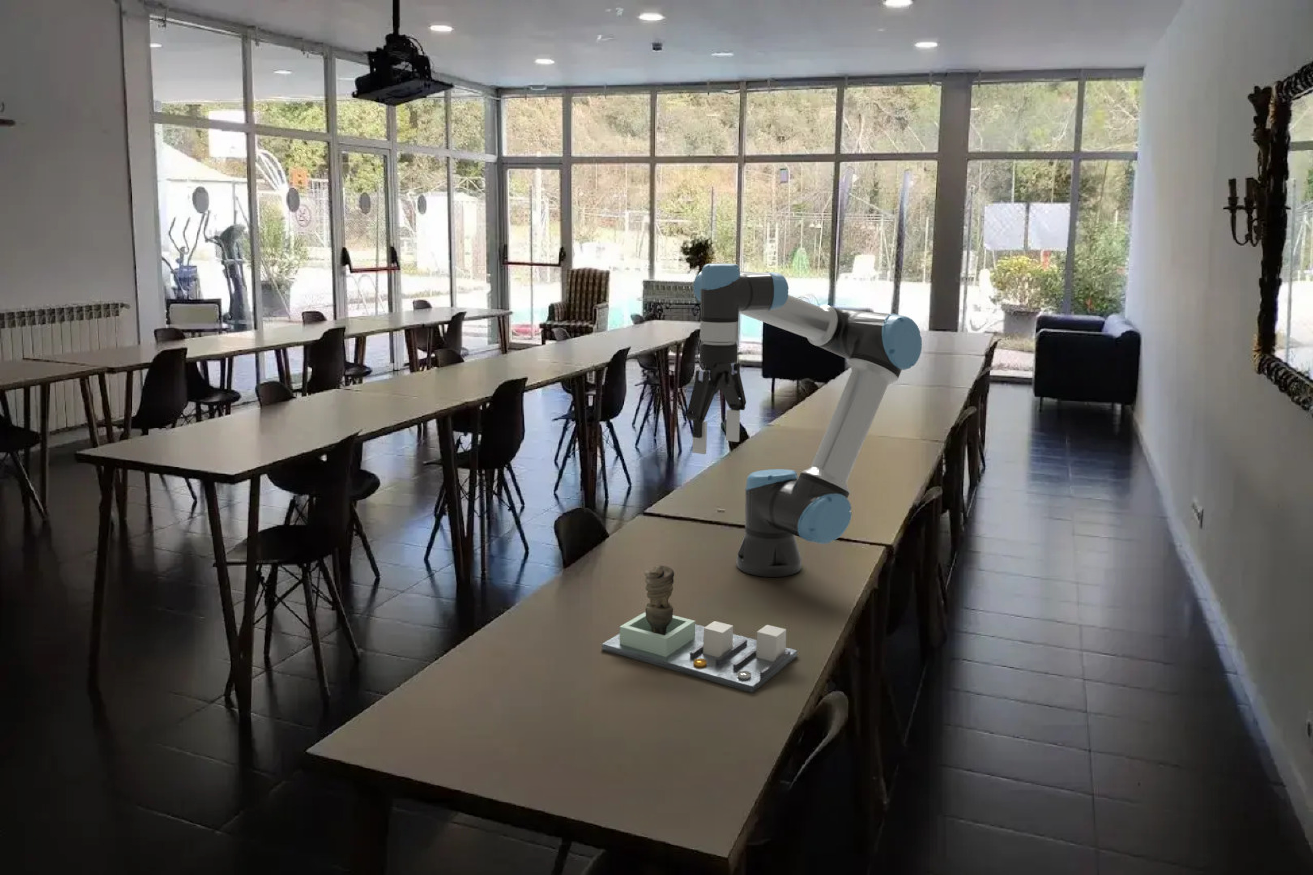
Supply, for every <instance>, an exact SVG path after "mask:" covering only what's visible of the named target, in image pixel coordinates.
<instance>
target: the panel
mask: <svg viewBox="0 0 1313 875" xmlns="http://www.w3.org/2000/svg"><path fill="white" fill-rule="evenodd" d="M704 627H705V626H704V625H700V624H696V623H695V638H694V639H693V640H691V641H690V642H688V643H687V644H685V645H684V646H682V647H680V648H679V649H677V650H676V651H674V652H673V653H671V654H670V655H668V656H667V657H665V656H661V655H657V654H654V653H650V652H647V651H643V650H640V649H636V648H632V647H629V646H625V645H622V644H620V633H618V634H616V635H615V636H613V637H612V638H610V639H608V640H605V641H603V643H602V644H601V650H603V651H606V652H609V653H611V654H612V653H613V654H616V655H619V656H622V657H626V658H630V659H634V660H637V661H641V662H643V663H648V664H651V665H655V666H657V667H661V668H664V669H668V670H672V671H675V672H678V673H682V674H686V675H688V676H692V677H696V678H699V679H702V680H706V681H710V682H714V683H718V684H721V685H724V686H727V687H731V688H734V689H738V690H741V691H745V692H748V693H752V694H753V693H754V692H755V691H757V689H759V688H760V687H761V686H762V685H764V684H765V683H766V682H767V681H768V680H770V679H772V678H773V677H774V676H775V675H777V674H778V672H780V671H781V670H782V669H784V668H785V667H786V666H787V665H788V664H790V663H791V662H792V661H793V660H794V659H796V658H797V657H798V650H797V649H793V648H789V647H786V652H785V653H783V654H782V655H781V656H780V657H778V658H777V659H776V660H775V661H769V660H765V659H761V658H757V657H756V647H757V639H754V638H749V637H746V636H742V635H740V634H735V633H733V648H731V649H730V650H728V651H727V652H726V653H724V654H723V655H721V656H720V657H715V656H712V655H708V654H704V653H703V638H704ZM649 632H652V630H650V631H649ZM666 634H667V633H666Z"/></svg>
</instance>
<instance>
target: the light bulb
mask: <svg viewBox="0 0 1313 875" xmlns="http://www.w3.org/2000/svg"><path fill="white" fill-rule="evenodd" d="M644 576H645V578H644V582H645V584H646V585H645V590H646V591H647V593H646V597H647V598H648V599H649V602H648V603H646V605H645V612H646V620H647V621H648V623H649V624H650V626H651V630H652V632H653V633H657V634H661V635H666V629H667V626H668V625H669V624H670V622H671V621H672V618H673V615H674V606H673V604H672V603H670V602H669V599H670V597H672V595H673V594H672V593H673V590H674V583H675V581H674V580H675V578H674V577H675V571H674V569H672V567H670V566H667V565H659V564H658V565H656V566H654V567H653V569H647V570H645V572H644Z"/></svg>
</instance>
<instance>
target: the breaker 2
mask: <svg viewBox="0 0 1313 875" xmlns="http://www.w3.org/2000/svg"><path fill="white" fill-rule="evenodd" d="M756 640H757V647H756V657H757V658H761V659H765V660H769V661H775V660H776V659H777V658H778V657H780V656H781V655H782V654H783V653H785V652H786V648H787V646H786V645H787V628H783V627H779V626H778V627H777V626H773V625H770V624H766V625H764V626H763V627H762V628H760V629H759V630H757V631H756Z"/></svg>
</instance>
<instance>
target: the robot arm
mask: <svg viewBox="0 0 1313 875" xmlns="http://www.w3.org/2000/svg"><path fill="white" fill-rule="evenodd" d="M740 270H741V269H740V266H739V265H738V264H737V263H714V262H713V263H706V264H704V265H703V267H702V270H701V271H700V272H699V273H697V275H696V277H695V279H694V281H693V284H692V285H693V286H692V288H693V289H692V290H693V294H694V296H695V298H696V300H698V301H699V302H700V325H699V330H700V333H699V334H700V336H699V339H700V341H702V342H701V343H700V344H699V361H700V363H704V364H705V366H704V369H697V370H695V379H694V385H693V388H692V390H691V396H690V399H689V404H688V407H687V410H686V414H685V415H686V416H685V417H686V420H688V421H692V453H694V454H699V455H706V454H707V446H708V445H707V442H708V441H707V440H708V439H707V437H708V436H707V435H708V421H707V420H706V417H707V415H708V412H709V409H710V407H711V404H712V402H713V399H714V397H715V395H716V394H718V393H719V391H721V392H722V395H723V397H724V399H725V401H726V405H727V406H728V408H729V409H726V422H725V423H726V424H725V426H726V427H725V428H726V429H725V430H726V431H725V441H726V442H727V441H729V442H734V443H738V442H740V427H741V426H740V425H741V424H740V423H741V422H740V421H741V420H740V419H741V411H745V409H746V404H747V399H746V395H745V390H744V387H743V386H744V384H743V382H742V377H741V373H740V372H741V369H740V368H741V367H740V363H738V362H737V361H738V346H739V345H738V344H737V343H736V342H738V341H739V316H740V315H743V316H745V317H749V318H751V319H754V320H756V321H759V322H763V323H764V324H765V323H766V324H768V325H771V326H773V327H776V328H779V329H782V330H784V331H788V332H790V333H792V334H795V335H798V336H801V337H803V338H807V341H808V342H809V343H810V344H812V346H813V345H814V346H816V347H819V348H821V349H823V350H826V351H828V352H831V353H833V354H835V355H838V356H839V357H841V358H845V359H847V360H848V365H849V366H850V368H851V372H850V373H849V376H848V378H847V381H846V384H845V386H844V388H843V390H842V393H841V395H840V397H839V400H838V401H837V405H836V407H835V409H834V412H833V414H832V416H831V418H830V421H829V423H828V426H827V428H826V430H825V432H824V435H823V437H822V440H821V442H820V443H819V447H818V449H817V451H816V454H815V457H813V458H814V459H813V460H812V463H811V465H810V467H809V468H807V469H804V470H802V471H800V474H799V475H798V473H797V471H796V470H793V469H784V468H783V469H781V468H774V469H763V470H755V471H754V472H751V473H750V474H748V476H747V478H746V485H745V486H746V487H745V489H744V490H745V491H744V492H745V503H744V504H745V509H744V510H745V511H744V512H745V516H744V535H743V538H742V541H741V544H740V546H739V549H738V551H737V555H736V568H737V569H739V570H740V571H741V572H743V573H746V574H749V575H752V576H757V577H767V578H768V577H769V578H774V577H775V578H779V577H781V578H782V577H788V576H791V575H794V574H797V573H799V572H800V571H801V569H802V557H801V554H800V549H799V546H798V543H797V542H798V541H797V538H796V537H798V538H801V539H803V540H805V541H807V542H809V543H811V542H813V543H817V544H820V545H825V544H830V543H832V541H833V542H834V541H836V540H837V539H839V538H840V537H841V536H842V535H843V534H844V533H845V532H846V531H847V528H848V527H849V525H850V522H851V520H852V514H853V513H852V511H851V510H852V505H851V502H850V501H849V499H848V498H849V496H850V494H851V491H850V489H849V487H848V480H849V478H850V475H851V473H852V471H853V468H854V466H855V463H856V461H857V459H858V456H859V454H860V453H861V452H860V451H861V449H862V447H863V444H864V443H865V440H866V437H867V435H868V433H869V431H870V428H871V425H872V424H873V421H874V419H875V416H876V414H877V411H878V409H879V406H880V404H881V403H882V399H883V398H884V395H885V393H886V391H887V388H888V386H889V385H891V384H893V383H895V382H897V381H898V380H899V377H900V375H901V373H902V371H905V370H908V369H911V368H912V367H914V366H915V365H916V364H917V363H918V361H919V359H920V358H921V357H920V356H921V354H922V348H923V340H922V336H921V331H920V328H919V326H918V324H917V323H916V322H915V321H914V320H913V319H912V318H910V317H908V316H906V315H899V314H897V313H884V312H875V311H867V310H854V309H844V308H837V307H833V306H830V305H827V304H821V305H816V304H814V303H811V302H808V301H806V300H803V299H800V298H799V297H794V296H793V295H790V294H789V284H788V281H787V279H786V278H785V276H784V275H783V274H782V273H779V272H770V271H765V272H764V271H763V272H754V271H743V270H742V271H740ZM736 362H737V363H736Z"/></svg>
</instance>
